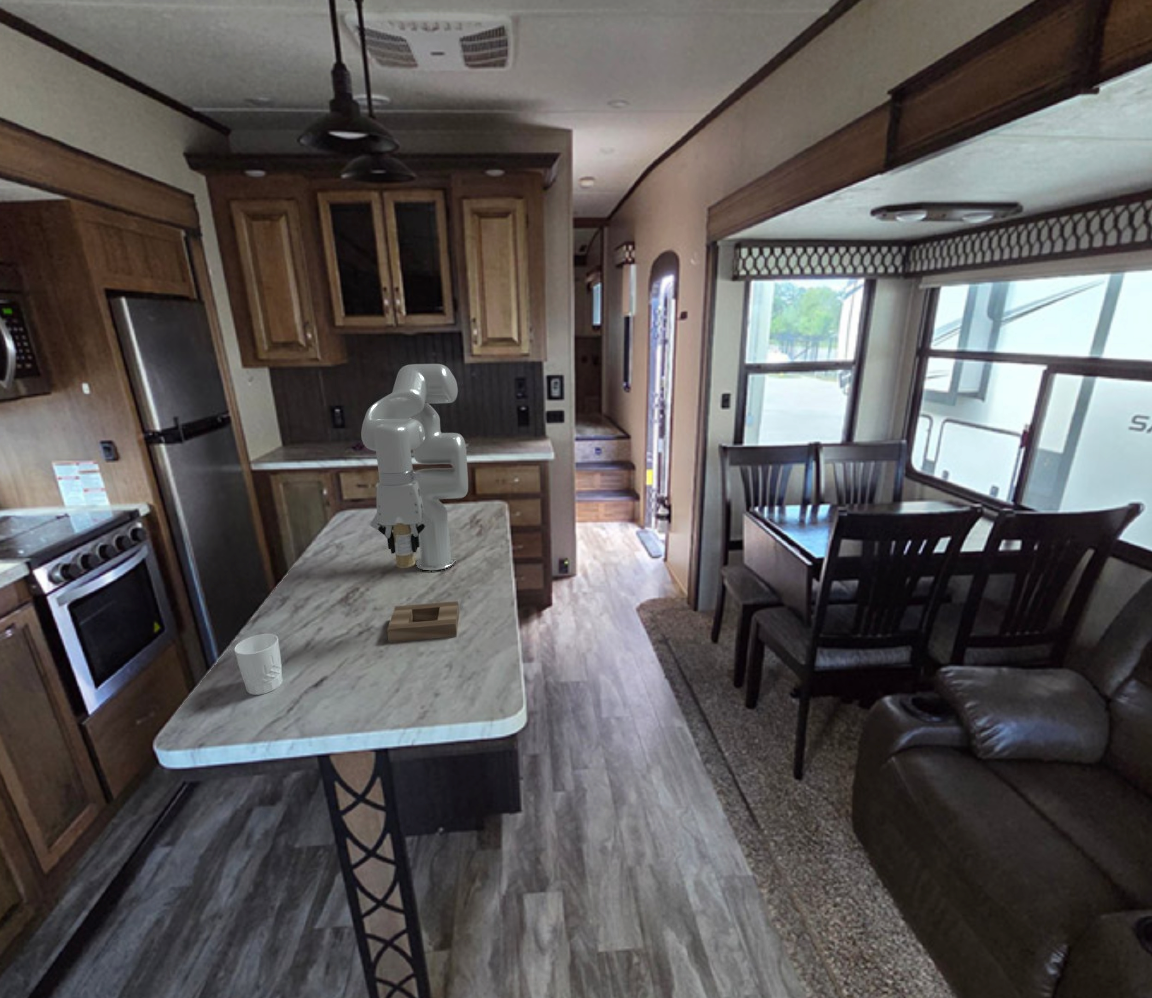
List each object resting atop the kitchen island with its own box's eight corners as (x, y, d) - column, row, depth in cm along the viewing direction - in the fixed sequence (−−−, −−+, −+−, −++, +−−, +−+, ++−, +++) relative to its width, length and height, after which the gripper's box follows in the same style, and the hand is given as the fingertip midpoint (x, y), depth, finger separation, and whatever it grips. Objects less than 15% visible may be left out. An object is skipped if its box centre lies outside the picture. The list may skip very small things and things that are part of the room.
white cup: (238, 700, 110) (228, 656, 107) (249, 677, 117) (240, 636, 114) (281, 693, 112) (272, 650, 109) (289, 671, 119) (282, 631, 116)
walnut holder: (396, 618, 141) (395, 606, 140) (459, 613, 144) (458, 601, 143) (388, 642, 130) (387, 629, 129) (456, 636, 132) (455, 623, 131)
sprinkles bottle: (398, 561, 134) (392, 509, 130) (417, 560, 134) (412, 509, 130) (394, 569, 129) (387, 515, 125) (413, 568, 130) (407, 515, 126)
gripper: (435, 472, 130) (441, 543, 135) (362, 475, 128) (372, 547, 133) (431, 480, 123) (438, 554, 128) (354, 483, 121) (364, 559, 126)
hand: (404, 550), depth 131 cm, fingers closed on sprinkles bottle, 4 cm apart
